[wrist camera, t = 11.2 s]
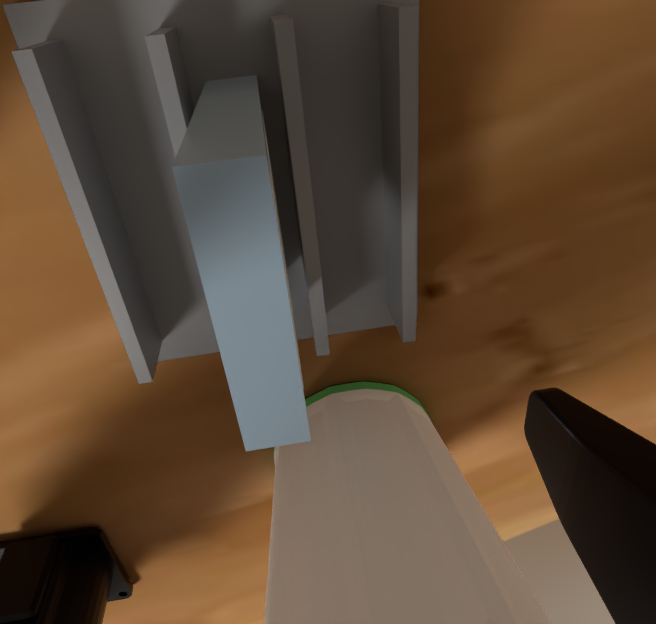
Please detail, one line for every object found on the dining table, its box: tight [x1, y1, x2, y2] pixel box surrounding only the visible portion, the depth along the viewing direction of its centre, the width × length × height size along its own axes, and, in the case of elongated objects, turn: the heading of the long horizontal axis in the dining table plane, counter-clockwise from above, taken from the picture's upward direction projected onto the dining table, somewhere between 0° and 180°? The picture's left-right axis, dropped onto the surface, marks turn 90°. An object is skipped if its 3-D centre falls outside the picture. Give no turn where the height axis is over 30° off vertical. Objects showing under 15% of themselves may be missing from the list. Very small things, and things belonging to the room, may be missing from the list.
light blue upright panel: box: [172, 75, 311, 451], centre depth 14 cm, size 7×2×9 cm, turn 5°
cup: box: [264, 382, 552, 624], centre depth 21 cm, size 12×12×15 cm
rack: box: [2, 0, 419, 384], centre depth 18 cm, size 13×12×4 cm
